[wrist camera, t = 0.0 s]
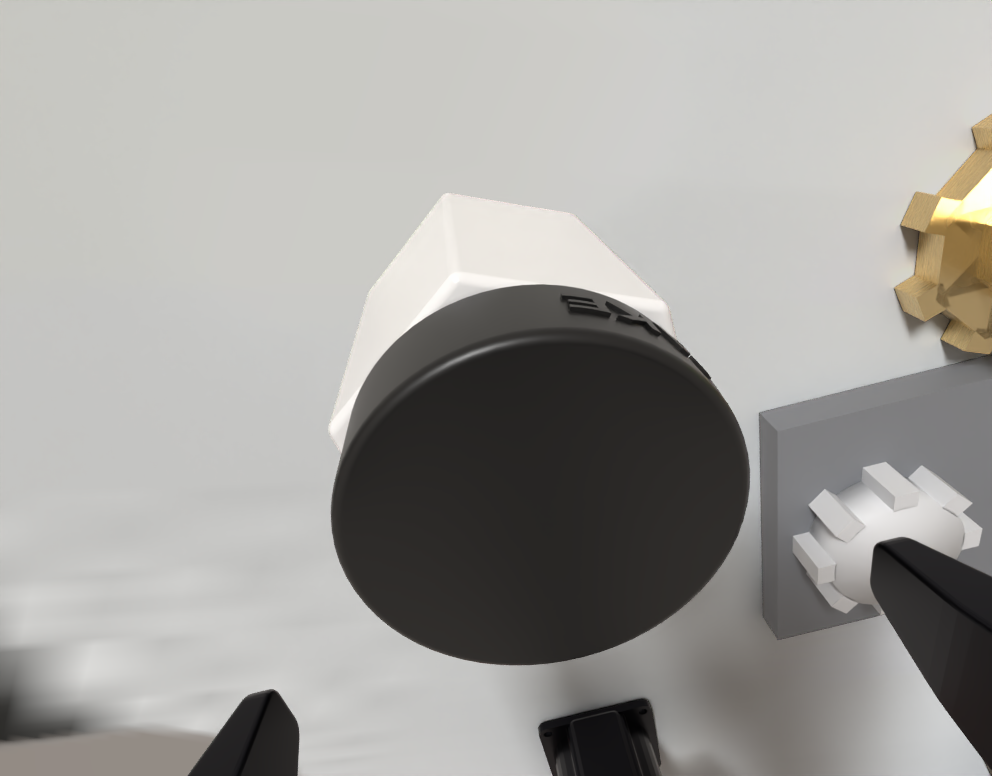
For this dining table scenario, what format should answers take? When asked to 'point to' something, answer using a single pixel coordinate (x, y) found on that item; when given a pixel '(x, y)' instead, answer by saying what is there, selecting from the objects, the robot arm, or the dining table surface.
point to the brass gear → (956, 251)
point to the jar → (527, 444)
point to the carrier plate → (859, 440)
